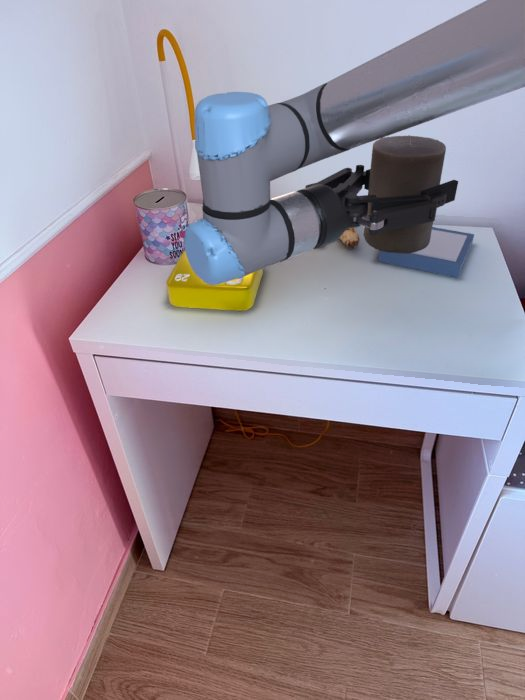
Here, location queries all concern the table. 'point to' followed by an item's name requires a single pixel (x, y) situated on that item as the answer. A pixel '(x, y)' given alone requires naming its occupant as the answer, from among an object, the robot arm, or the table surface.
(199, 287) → the element tile
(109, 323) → the table surface
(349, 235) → the brown forked curved piece
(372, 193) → the pillar candle
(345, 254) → the table surface
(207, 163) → the robot arm
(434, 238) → the scale
